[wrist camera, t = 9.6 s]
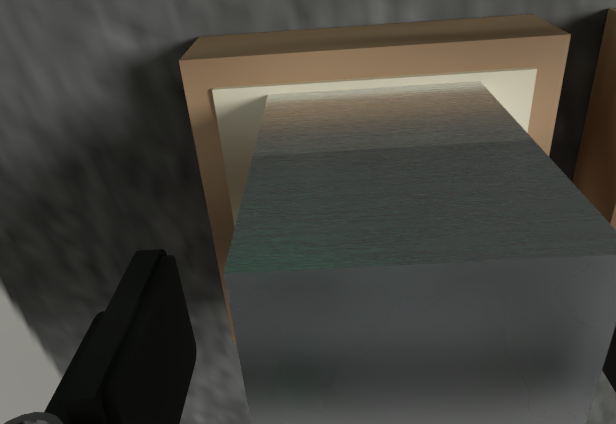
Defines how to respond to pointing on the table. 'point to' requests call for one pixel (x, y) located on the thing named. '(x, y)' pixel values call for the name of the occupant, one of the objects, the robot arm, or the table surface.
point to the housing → (415, 265)
